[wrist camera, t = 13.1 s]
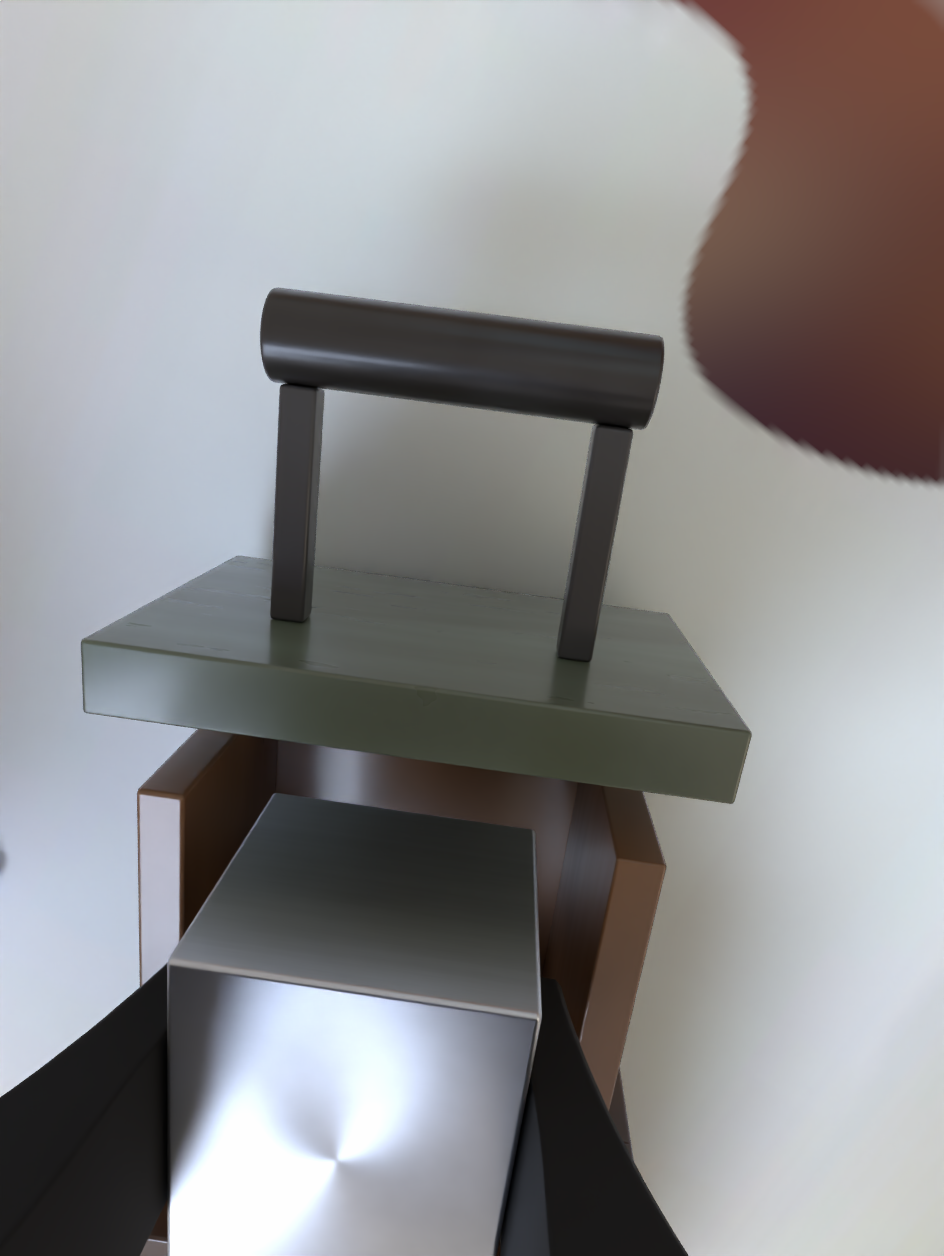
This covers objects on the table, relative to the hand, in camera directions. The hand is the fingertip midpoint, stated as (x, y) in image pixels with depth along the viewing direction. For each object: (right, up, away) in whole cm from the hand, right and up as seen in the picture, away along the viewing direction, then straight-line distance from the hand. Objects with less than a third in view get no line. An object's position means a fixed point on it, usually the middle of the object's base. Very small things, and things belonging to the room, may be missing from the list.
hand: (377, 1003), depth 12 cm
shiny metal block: (0, 0, +1) cm, 1 cm away
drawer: (+1, +4, +6) cm, 7 cm away
